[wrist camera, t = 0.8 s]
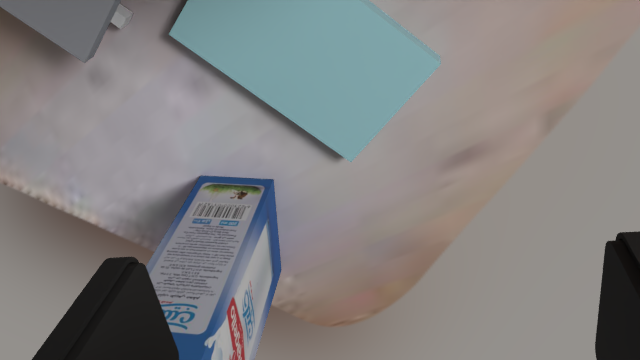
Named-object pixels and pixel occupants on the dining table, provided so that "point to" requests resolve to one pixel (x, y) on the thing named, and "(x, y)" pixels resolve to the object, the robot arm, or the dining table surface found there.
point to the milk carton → (219, 268)
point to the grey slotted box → (71, 21)
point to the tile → (313, 61)
